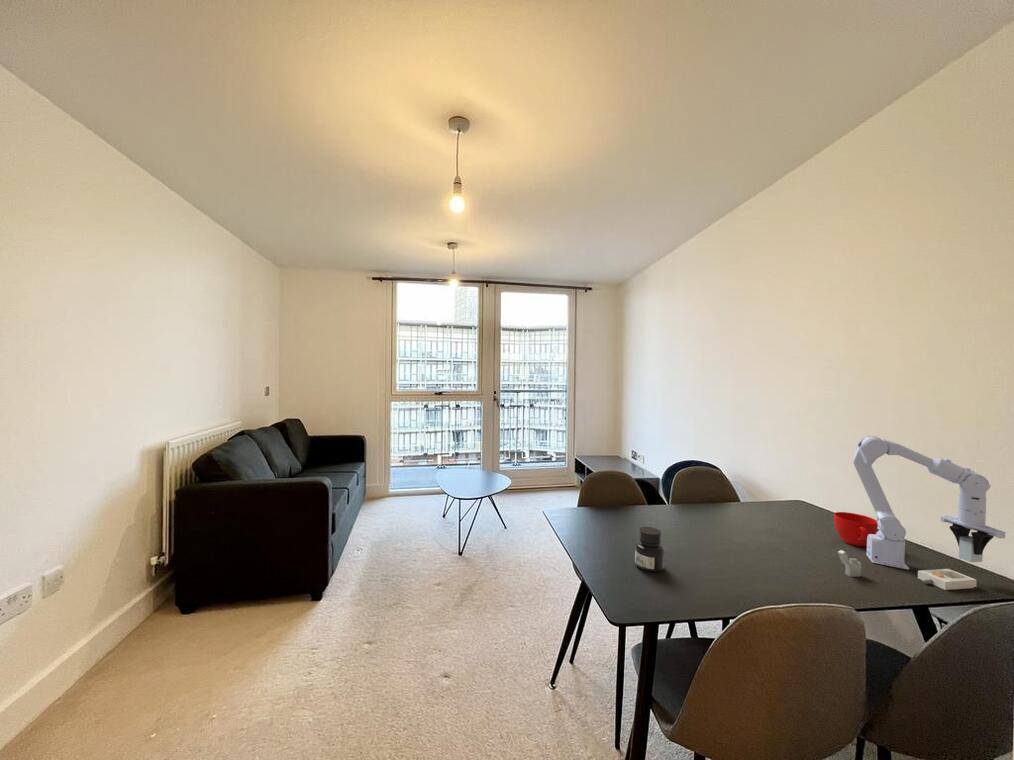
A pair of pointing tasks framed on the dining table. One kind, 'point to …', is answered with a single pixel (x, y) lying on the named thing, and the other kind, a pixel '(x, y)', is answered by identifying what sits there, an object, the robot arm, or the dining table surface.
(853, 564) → the lighter
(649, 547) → the ink bottle
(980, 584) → the dining table surface
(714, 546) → the dining table surface
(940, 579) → the white rectangular frame
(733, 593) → the dining table surface
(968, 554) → the plug
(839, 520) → the ceramic cup
